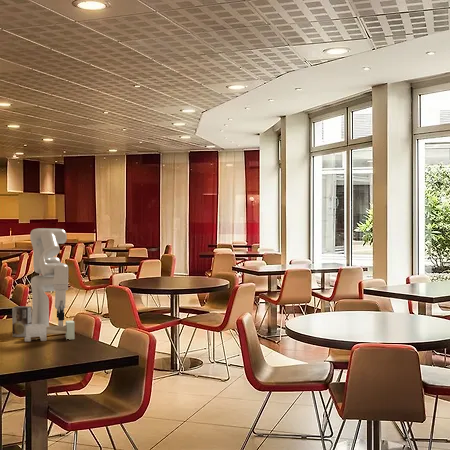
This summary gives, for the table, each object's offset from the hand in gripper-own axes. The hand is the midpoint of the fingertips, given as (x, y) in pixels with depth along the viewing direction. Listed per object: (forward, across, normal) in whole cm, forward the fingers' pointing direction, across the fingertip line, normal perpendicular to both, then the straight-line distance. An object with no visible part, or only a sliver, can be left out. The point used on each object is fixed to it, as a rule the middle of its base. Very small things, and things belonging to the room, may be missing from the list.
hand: (60, 318), depth 359 cm
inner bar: (+8, +1, -3) cm, 8 cm away
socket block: (+11, +1, +5) cm, 12 cm away
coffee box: (+11, -15, -19) cm, 27 cm away
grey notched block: (+11, +1, -13) cm, 17 cm away
